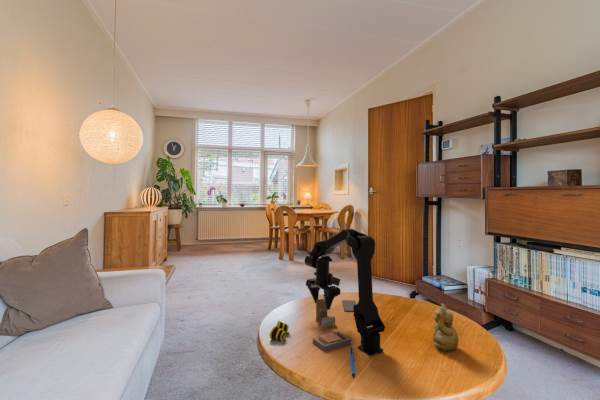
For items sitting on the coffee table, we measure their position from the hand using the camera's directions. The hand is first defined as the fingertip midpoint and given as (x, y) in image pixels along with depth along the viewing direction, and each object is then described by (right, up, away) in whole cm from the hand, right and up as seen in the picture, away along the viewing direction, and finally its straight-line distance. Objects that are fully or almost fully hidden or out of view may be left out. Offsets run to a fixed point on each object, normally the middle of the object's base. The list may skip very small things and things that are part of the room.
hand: (322, 306), depth 132 cm
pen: (+7, -7, -33) cm, 34 cm away
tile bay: (+2, -7, -20) cm, 21 cm away
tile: (+2, -7, -19) cm, 20 cm away
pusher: (+1, -7, -2) cm, 7 cm away
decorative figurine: (+43, -7, -22) cm, 49 cm away
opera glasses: (-17, -7, -15) cm, 24 cm away
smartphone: (+15, -7, +19) cm, 26 cm away
